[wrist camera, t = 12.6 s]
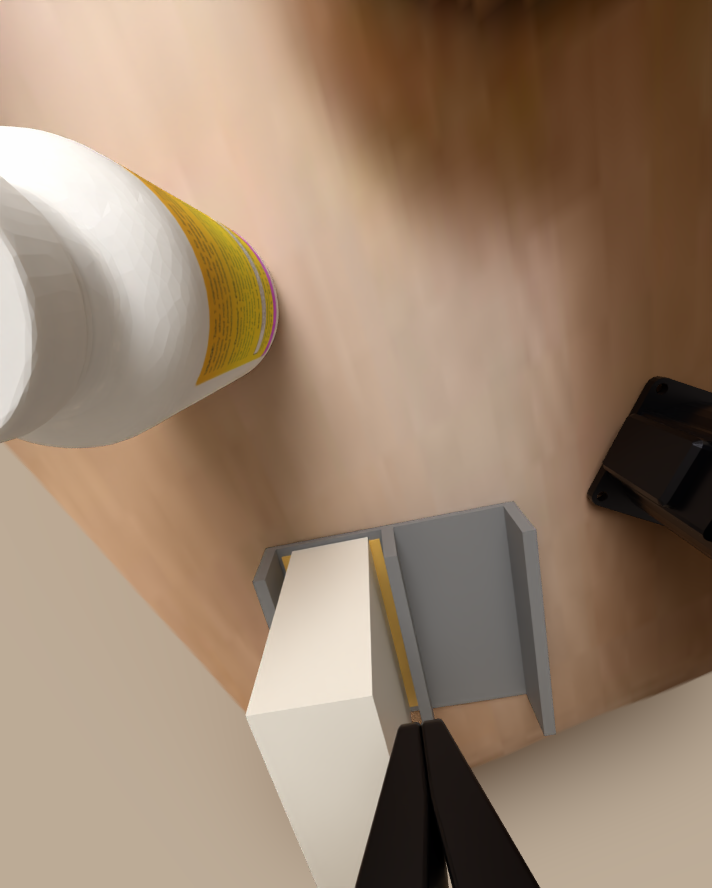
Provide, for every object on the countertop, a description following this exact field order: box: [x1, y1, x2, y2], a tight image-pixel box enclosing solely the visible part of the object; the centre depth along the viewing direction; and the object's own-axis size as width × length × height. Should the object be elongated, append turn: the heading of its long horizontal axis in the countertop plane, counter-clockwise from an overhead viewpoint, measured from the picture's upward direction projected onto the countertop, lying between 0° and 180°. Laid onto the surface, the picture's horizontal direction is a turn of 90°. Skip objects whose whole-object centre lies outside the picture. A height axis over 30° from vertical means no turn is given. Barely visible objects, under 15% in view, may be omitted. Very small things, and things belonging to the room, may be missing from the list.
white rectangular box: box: [246, 537, 412, 888], centre depth 18 cm, size 4×12×9 cm, turn 13°
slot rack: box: [253, 501, 556, 736], centre depth 21 cm, size 13×13×4 cm
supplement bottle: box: [0, 126, 279, 448], centre depth 12 cm, size 7×7×13 cm
